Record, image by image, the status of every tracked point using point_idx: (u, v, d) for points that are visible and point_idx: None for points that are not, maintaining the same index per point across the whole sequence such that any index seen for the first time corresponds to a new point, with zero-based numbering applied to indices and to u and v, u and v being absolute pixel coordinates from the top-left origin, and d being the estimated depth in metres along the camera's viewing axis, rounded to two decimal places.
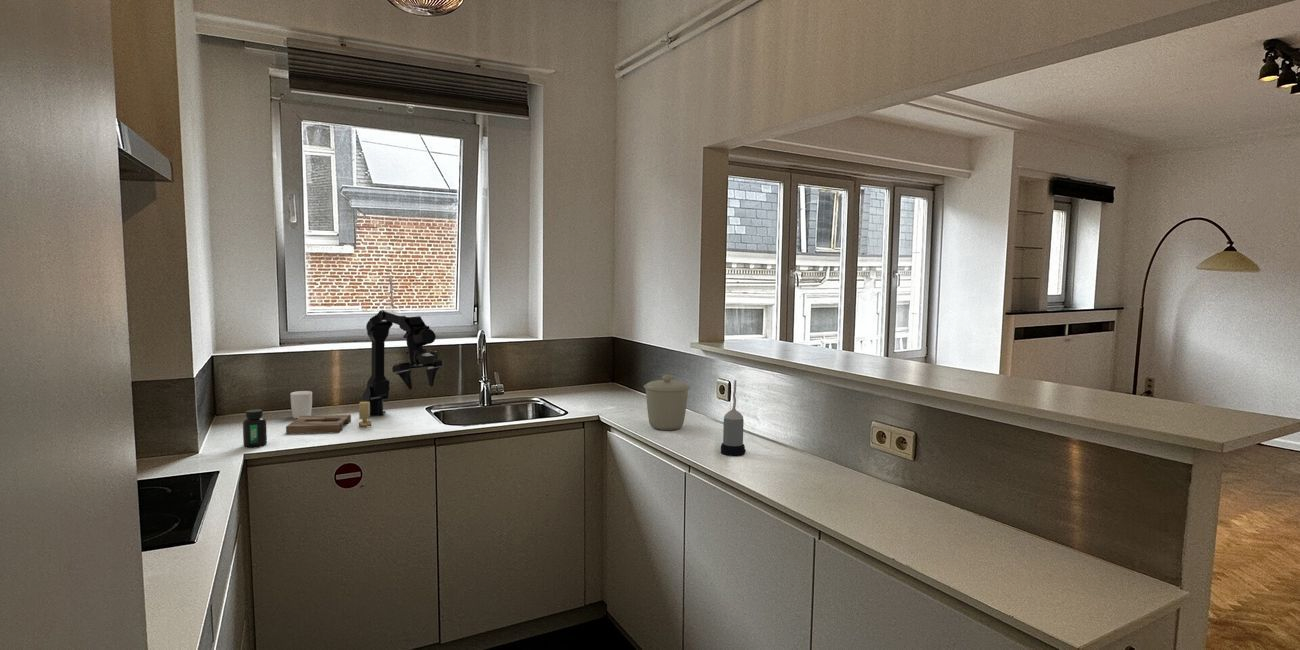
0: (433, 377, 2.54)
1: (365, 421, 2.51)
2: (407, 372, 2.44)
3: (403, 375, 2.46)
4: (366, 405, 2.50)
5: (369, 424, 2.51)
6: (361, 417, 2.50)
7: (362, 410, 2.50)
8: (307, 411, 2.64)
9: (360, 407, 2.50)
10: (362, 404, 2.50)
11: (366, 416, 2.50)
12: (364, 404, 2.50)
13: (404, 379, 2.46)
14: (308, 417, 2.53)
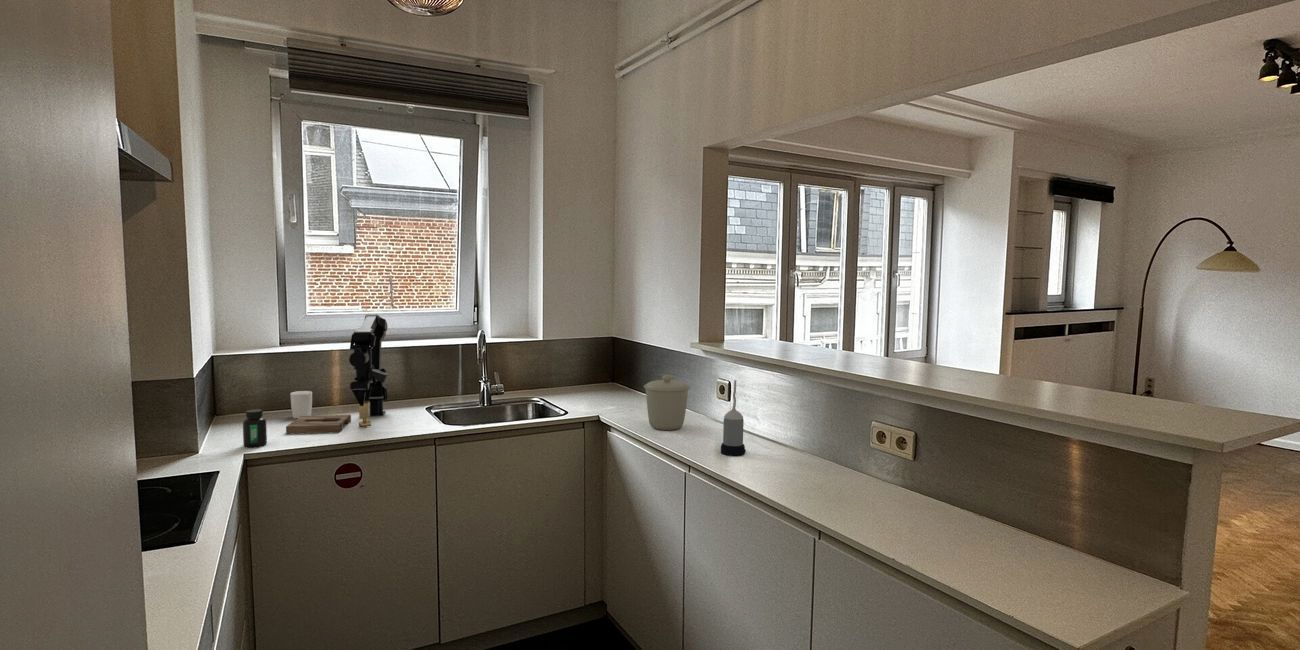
0: (370, 392, 2.57)
1: (365, 421, 2.51)
2: (367, 390, 2.45)
3: (357, 391, 2.45)
4: (366, 405, 2.50)
5: (369, 424, 2.51)
6: (361, 417, 2.50)
7: (363, 410, 2.50)
8: (307, 411, 2.64)
9: (360, 407, 2.50)
10: None
11: (366, 416, 2.50)
12: (364, 404, 2.50)
13: (357, 395, 2.45)
14: (308, 417, 2.53)
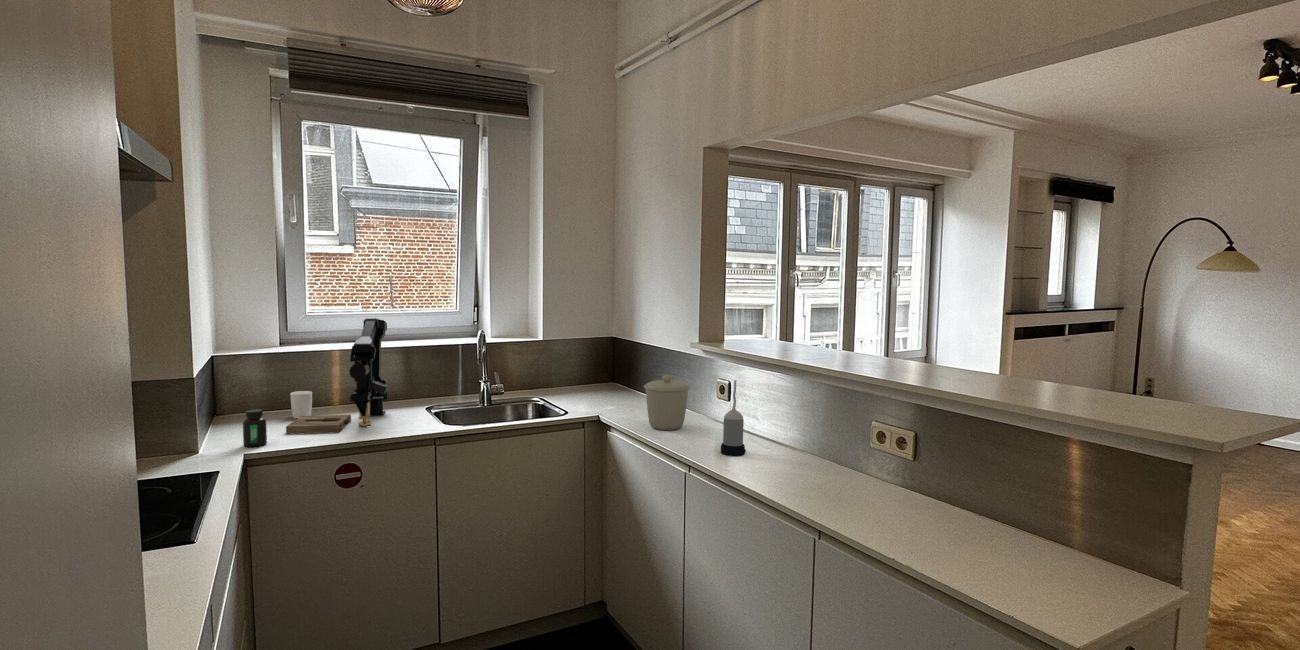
0: None
1: (365, 421, 2.51)
2: (369, 400, 2.48)
3: (359, 402, 2.48)
4: None
5: (369, 424, 2.51)
6: (361, 417, 2.50)
7: None
8: (307, 411, 2.64)
9: None
10: None
11: (366, 416, 2.50)
12: None
13: (359, 406, 2.48)
14: (308, 417, 2.53)
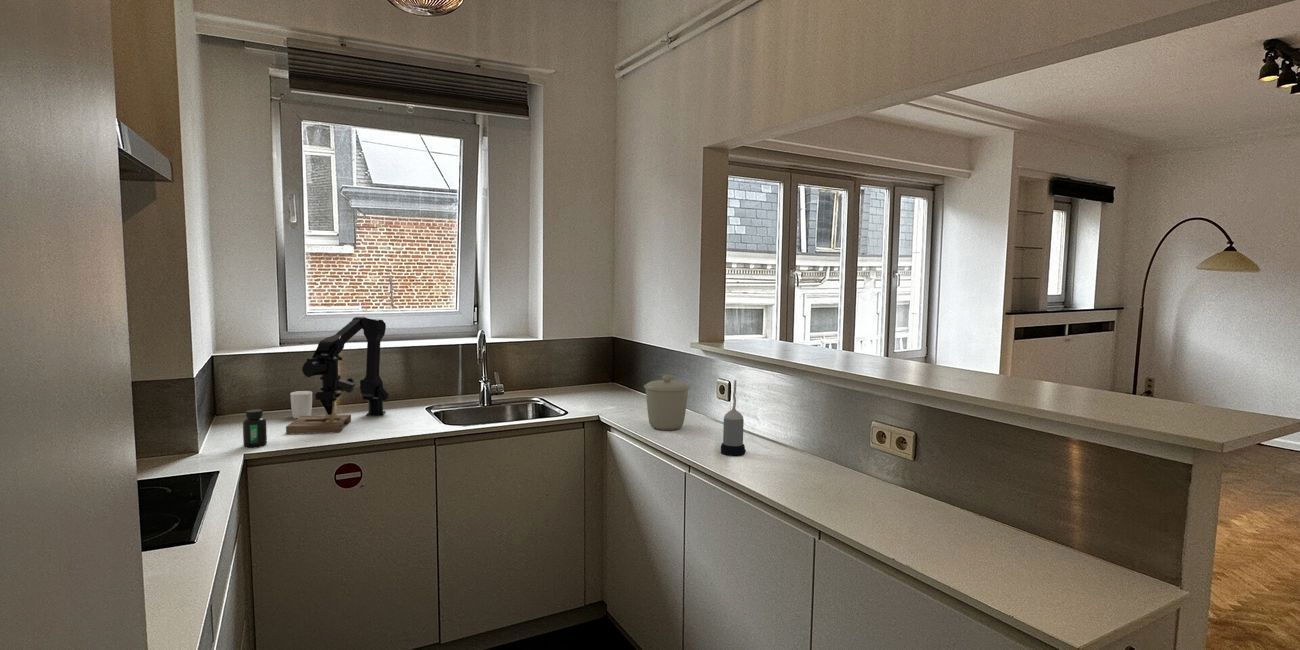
0: None
1: (331, 420, 2.49)
2: (335, 399, 2.46)
3: (325, 400, 2.45)
4: None
5: None
6: (327, 416, 2.48)
7: None
8: (307, 411, 2.64)
9: None
10: None
11: (332, 414, 2.48)
12: None
13: (325, 404, 2.46)
14: (308, 417, 2.53)
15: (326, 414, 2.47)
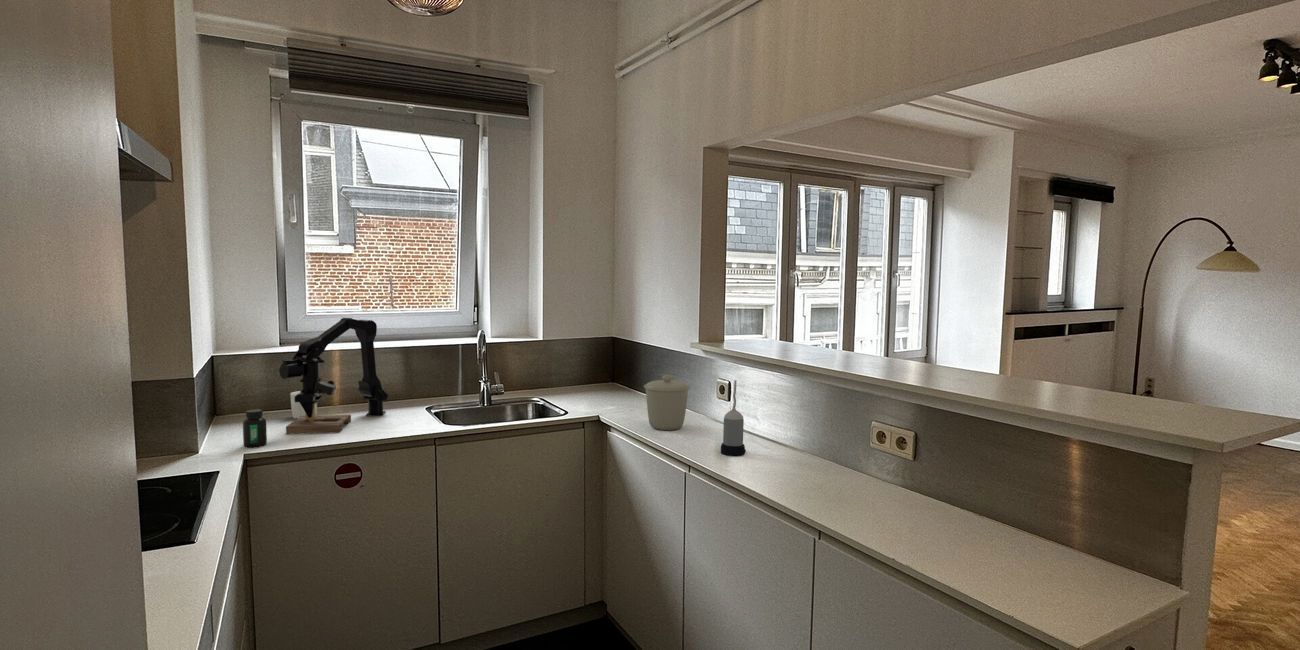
0: None
1: None
2: (315, 401, 2.44)
3: (305, 403, 2.44)
4: None
5: None
6: (307, 418, 2.46)
7: None
8: None
9: None
10: None
11: (312, 417, 2.46)
12: None
13: (305, 407, 2.44)
14: None
15: (306, 417, 2.46)
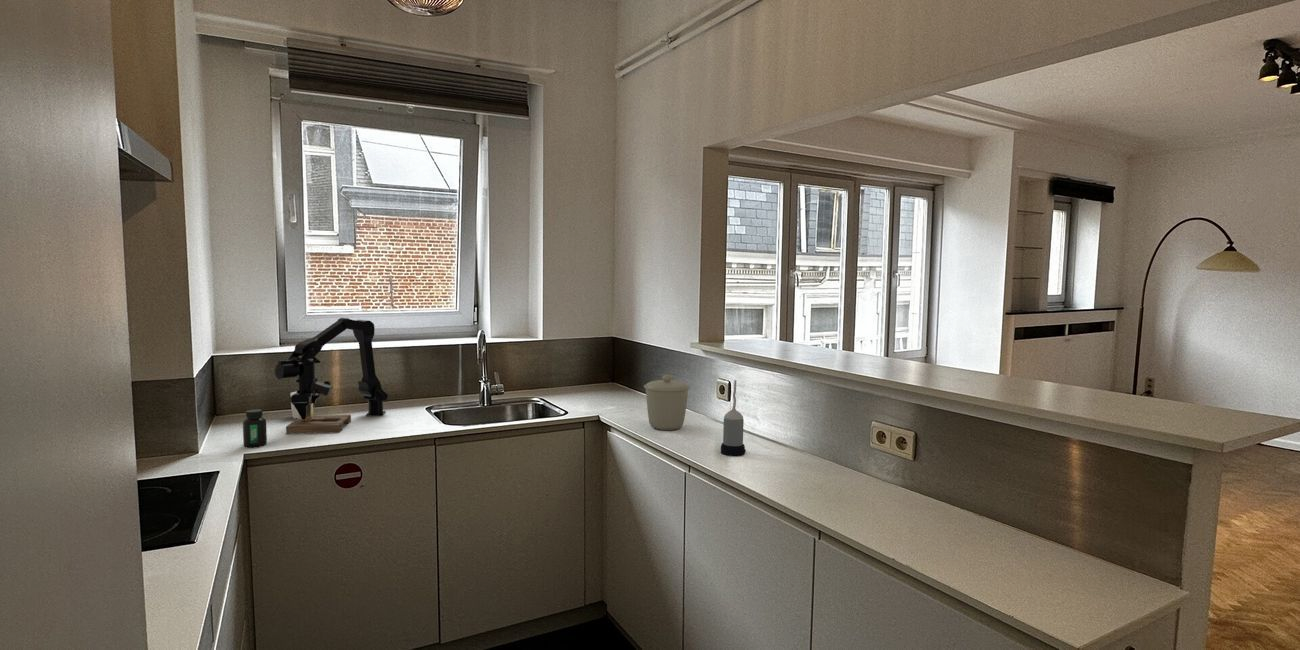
0: (314, 405, 2.53)
1: None
2: (309, 403, 2.41)
3: (299, 405, 2.41)
4: (309, 406, 2.46)
5: None
6: (304, 419, 2.46)
7: None
8: None
9: None
10: None
11: (309, 418, 2.46)
12: None
13: (299, 409, 2.41)
14: None
15: None
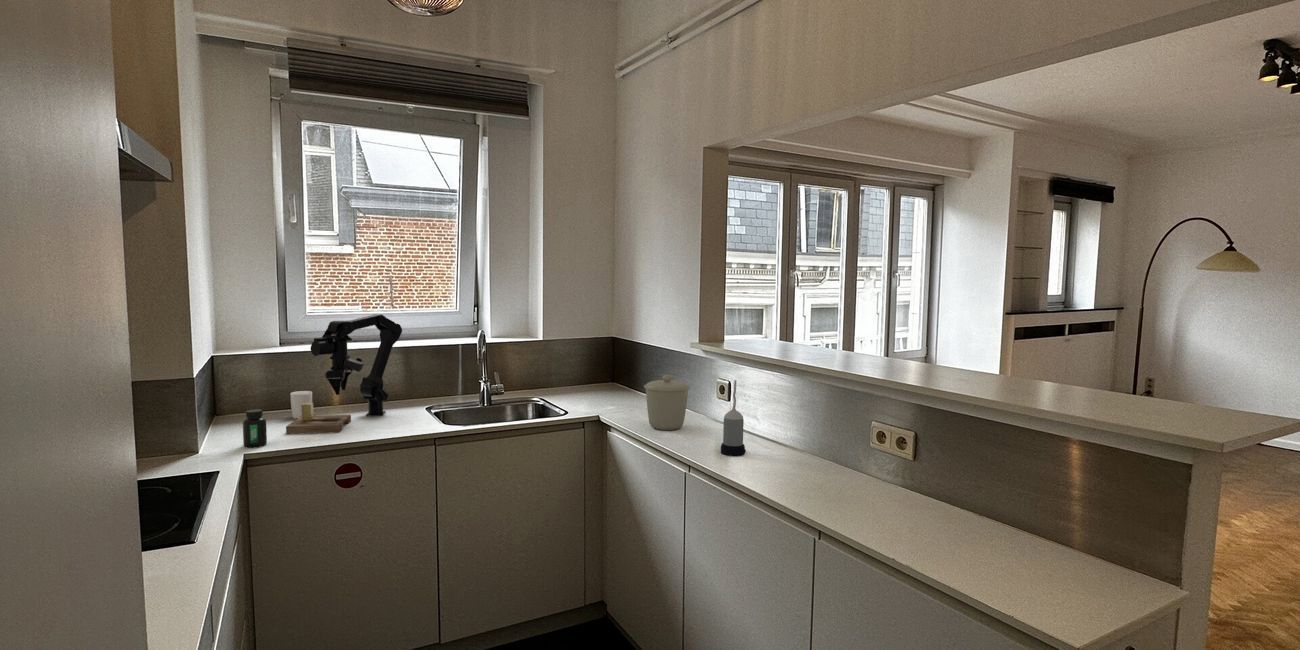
0: None
1: None
2: (343, 379, 2.51)
3: (333, 380, 2.51)
4: (309, 406, 2.46)
5: None
6: (304, 419, 2.46)
7: (305, 411, 2.46)
8: None
9: (302, 408, 2.46)
10: (305, 405, 2.46)
11: (309, 418, 2.46)
12: (307, 405, 2.46)
13: (333, 384, 2.51)
14: None
15: (302, 417, 2.46)
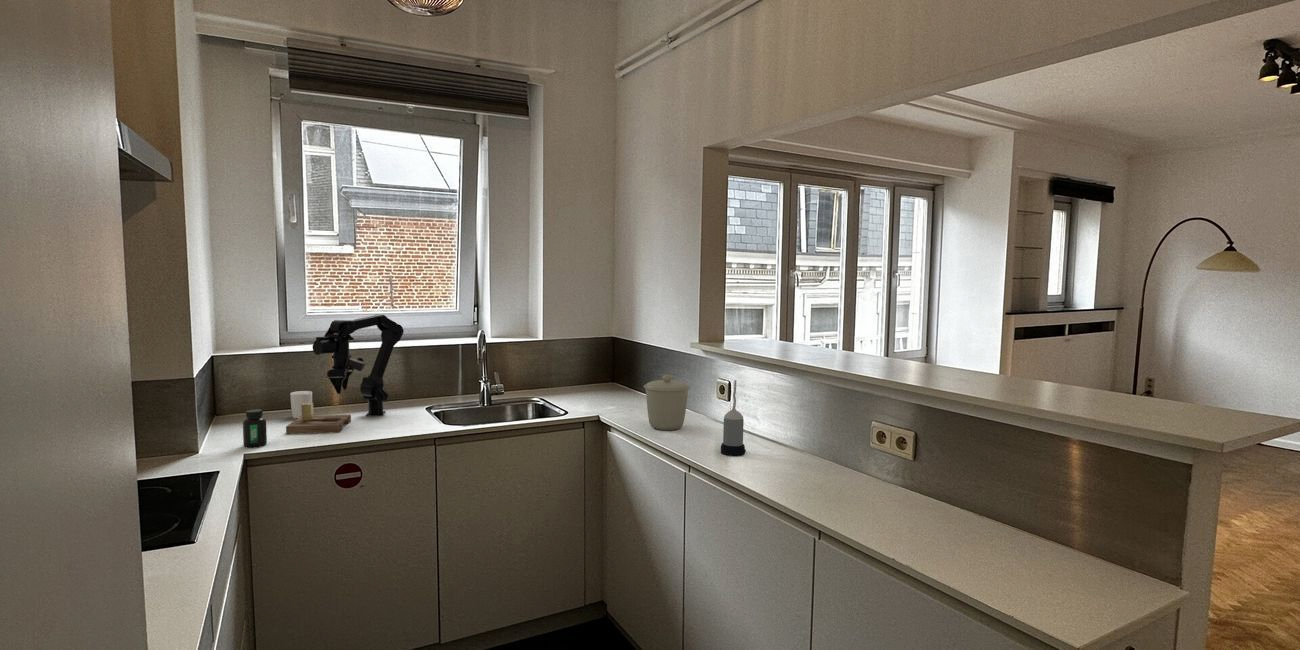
0: (348, 380, 2.63)
1: None
2: (344, 378, 2.51)
3: (334, 379, 2.51)
4: (309, 406, 2.46)
5: None
6: (304, 419, 2.46)
7: (305, 411, 2.46)
8: None
9: (303, 408, 2.46)
10: (305, 405, 2.46)
11: (309, 418, 2.46)
12: (307, 405, 2.46)
13: (335, 383, 2.52)
14: None
15: (302, 417, 2.46)
